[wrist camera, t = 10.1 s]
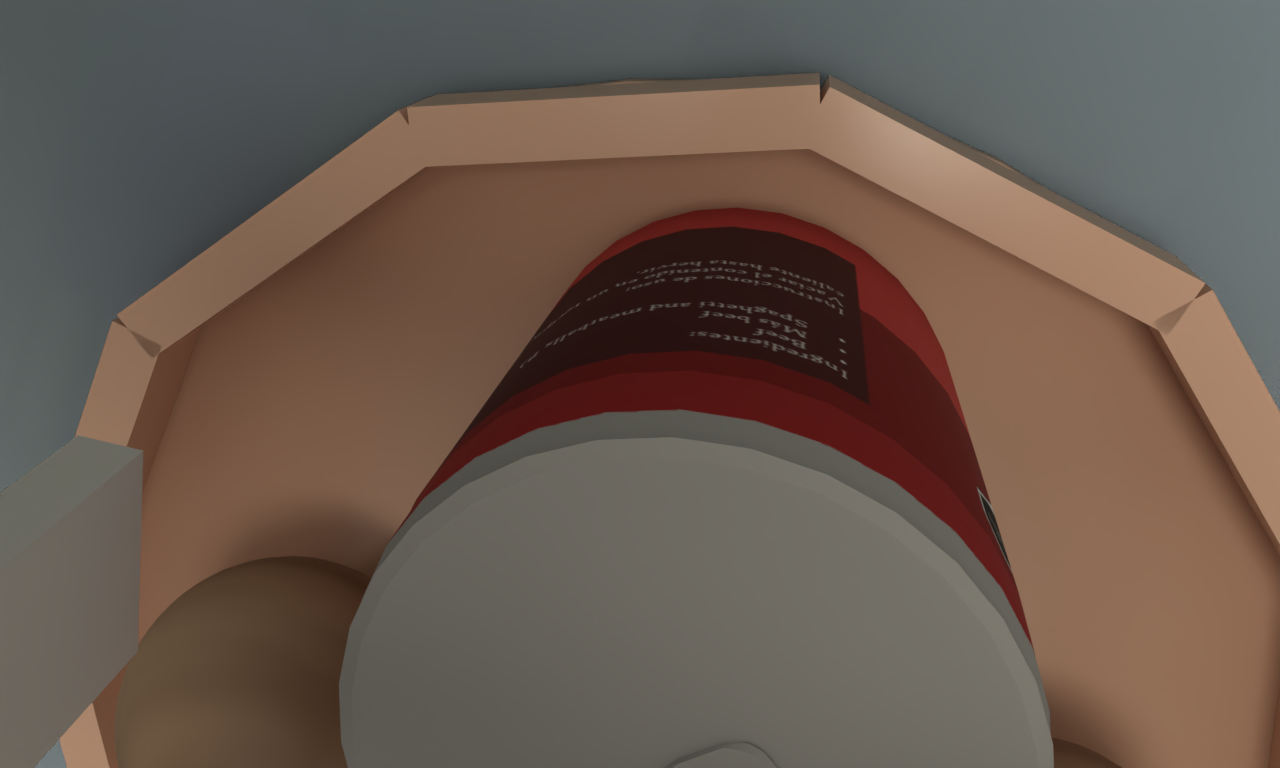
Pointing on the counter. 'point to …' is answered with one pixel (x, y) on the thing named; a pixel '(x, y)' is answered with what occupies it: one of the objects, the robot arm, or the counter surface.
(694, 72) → the counter surface
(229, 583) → the seated beads
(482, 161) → the tray
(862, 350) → the canned food
